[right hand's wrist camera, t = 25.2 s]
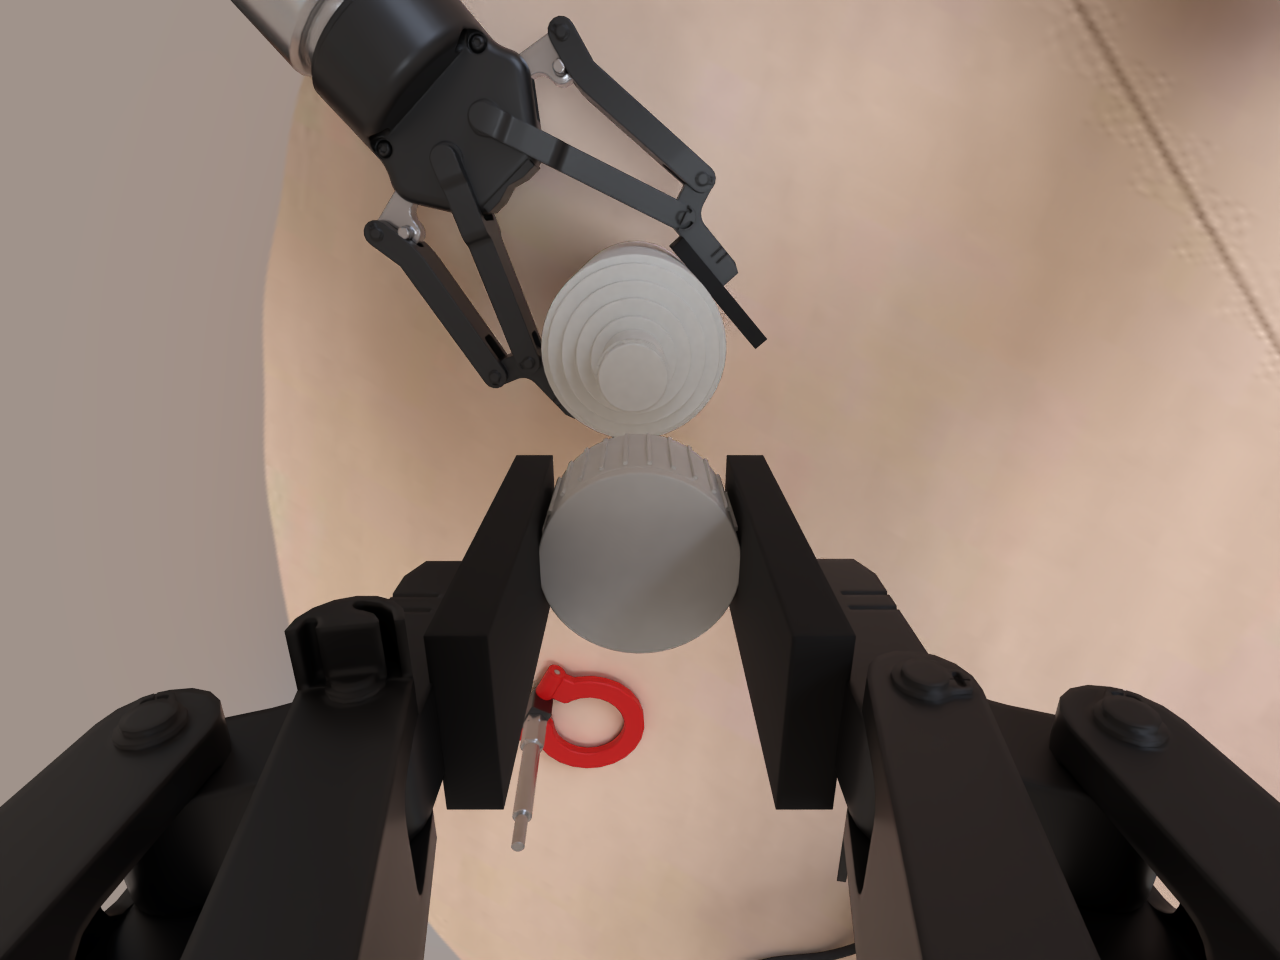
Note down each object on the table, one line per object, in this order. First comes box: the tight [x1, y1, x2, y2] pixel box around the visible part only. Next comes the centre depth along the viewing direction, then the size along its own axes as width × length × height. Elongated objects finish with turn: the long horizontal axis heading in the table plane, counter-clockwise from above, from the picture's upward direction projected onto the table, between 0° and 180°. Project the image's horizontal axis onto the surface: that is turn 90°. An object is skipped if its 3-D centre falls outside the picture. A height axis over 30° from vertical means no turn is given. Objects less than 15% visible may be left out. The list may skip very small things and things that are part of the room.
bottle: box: [541, 241, 726, 437], centre depth 33 cm, size 8×8×18 cm
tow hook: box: [511, 665, 644, 851], centre depth 46 cm, size 8×13×9 cm
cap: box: [539, 433, 740, 653], centre depth 13 cm, size 4×4×2 cm
